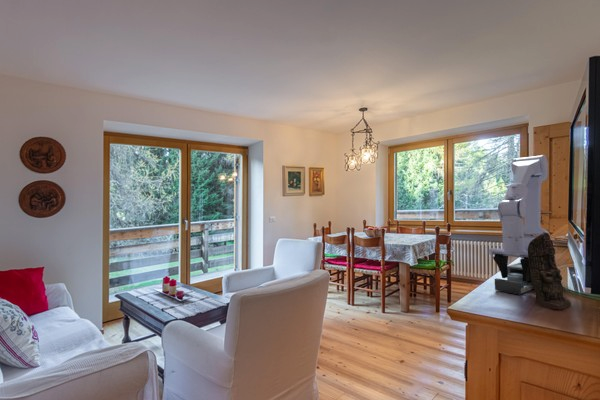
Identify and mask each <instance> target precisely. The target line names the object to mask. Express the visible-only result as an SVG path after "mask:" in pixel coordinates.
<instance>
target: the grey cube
mask: <svg viewBox="0 0 600 400" xmlns="http://www.w3.org/2000/svg"><path fill="white" fill-rule="evenodd" d="M507 275H508V280H509V281H515V282H520V283H521V287H523V275H522V274H518V273H508V274H507Z"/></svg>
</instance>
